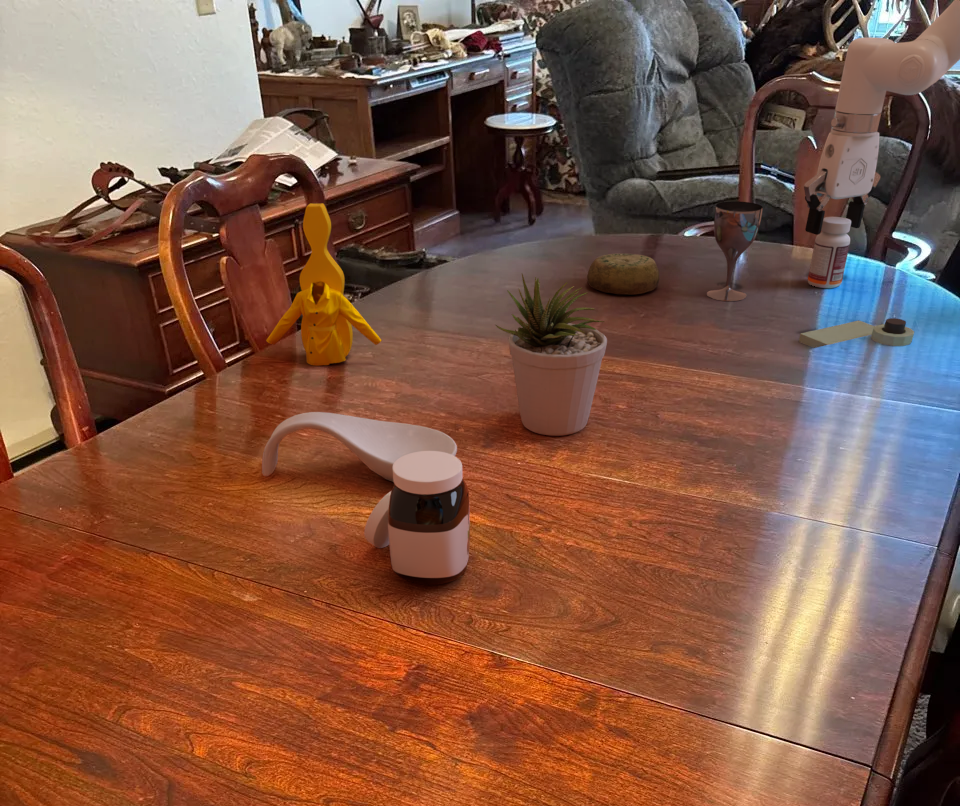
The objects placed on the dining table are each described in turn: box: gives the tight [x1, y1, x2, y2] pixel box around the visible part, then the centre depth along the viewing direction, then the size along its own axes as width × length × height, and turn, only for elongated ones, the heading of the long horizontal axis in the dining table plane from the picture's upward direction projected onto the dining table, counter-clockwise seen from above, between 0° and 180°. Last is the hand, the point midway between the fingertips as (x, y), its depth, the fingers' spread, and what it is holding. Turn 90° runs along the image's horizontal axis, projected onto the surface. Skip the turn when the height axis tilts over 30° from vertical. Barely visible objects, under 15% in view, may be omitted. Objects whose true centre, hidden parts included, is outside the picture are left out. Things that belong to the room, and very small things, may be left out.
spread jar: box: [363, 451, 471, 586], centre depth 97 cm, size 12×11×12 cm
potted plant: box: [495, 273, 608, 437], centre depth 123 cm, size 13×14×20 cm
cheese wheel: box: [586, 253, 660, 296], centre depth 177 cm, size 14×13×5 cm
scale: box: [798, 320, 915, 349], centre depth 150 cm, size 13×12×3 cm
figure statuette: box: [265, 202, 383, 367], centre depth 142 cm, size 18×8×22 cm, turn 87°
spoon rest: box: [261, 411, 458, 483], centre depth 115 cm, size 24×12×7 cm, turn 89°
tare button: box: [883, 317, 907, 334], centre depth 148 cm, size 3×3×2 cm
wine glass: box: [706, 200, 764, 302], centre depth 169 cm, size 8×8×15 cm
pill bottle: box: [807, 216, 851, 289], centre depth 175 cm, size 6×6×11 cm
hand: (832, 229), depth 173 cm, fingers open, 9 cm apart
